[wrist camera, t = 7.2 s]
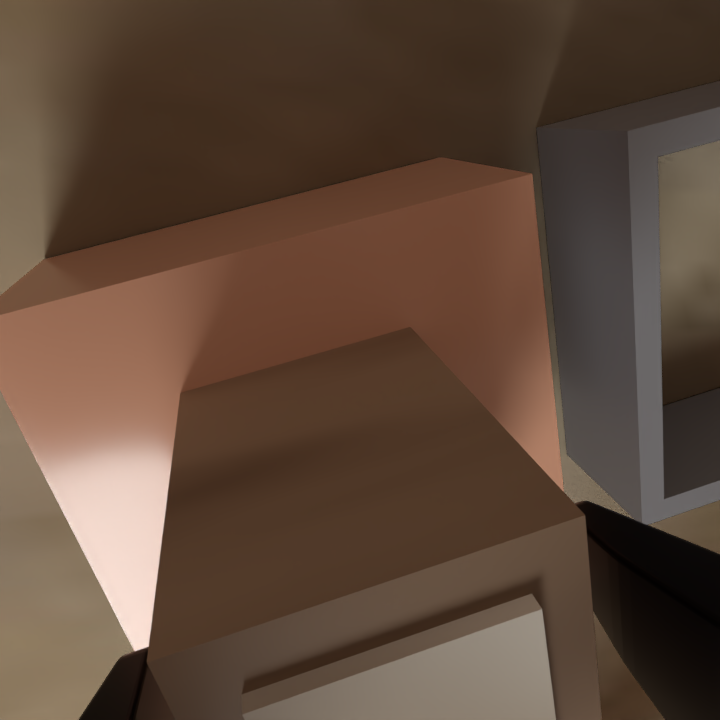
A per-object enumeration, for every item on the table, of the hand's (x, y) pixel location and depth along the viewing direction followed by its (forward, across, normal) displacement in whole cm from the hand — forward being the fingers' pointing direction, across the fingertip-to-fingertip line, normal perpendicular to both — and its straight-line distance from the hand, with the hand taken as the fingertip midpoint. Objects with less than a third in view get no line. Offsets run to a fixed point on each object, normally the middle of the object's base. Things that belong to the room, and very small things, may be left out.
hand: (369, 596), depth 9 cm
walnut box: (+3, 0, 0) cm, 3 cm away
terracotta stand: (+8, 0, 0) cm, 8 cm away
